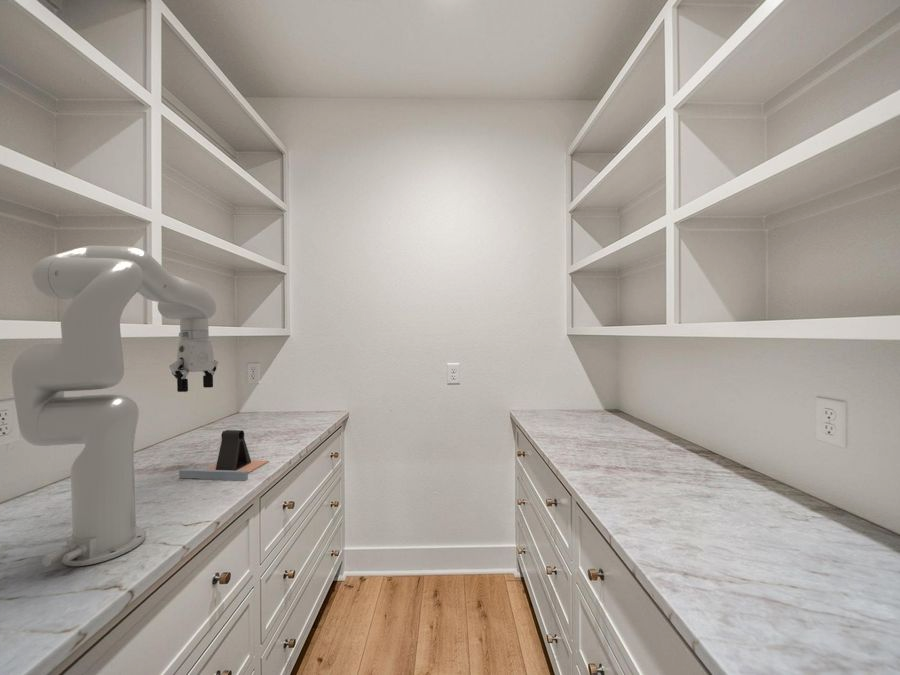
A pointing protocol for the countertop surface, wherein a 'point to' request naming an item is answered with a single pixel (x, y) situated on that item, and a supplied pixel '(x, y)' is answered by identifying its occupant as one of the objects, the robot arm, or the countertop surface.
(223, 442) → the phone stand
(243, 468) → the mat
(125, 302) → the robot arm
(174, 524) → the countertop surface
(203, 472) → the acrylic wall
